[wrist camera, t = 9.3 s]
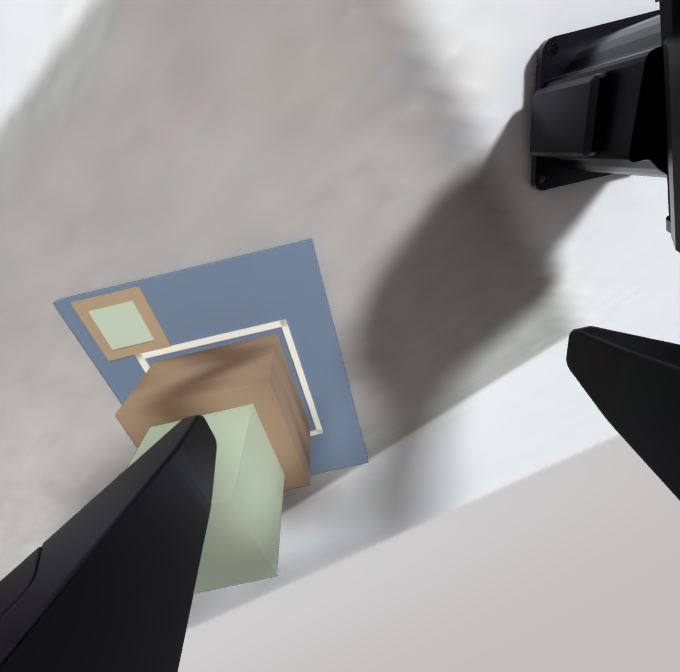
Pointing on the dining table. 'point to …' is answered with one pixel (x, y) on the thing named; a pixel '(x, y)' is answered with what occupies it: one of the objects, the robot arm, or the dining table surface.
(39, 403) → the dining table surface
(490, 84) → the dining table surface
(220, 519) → the sage cube
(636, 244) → the dining table surface
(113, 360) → the board
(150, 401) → the walnut base block
